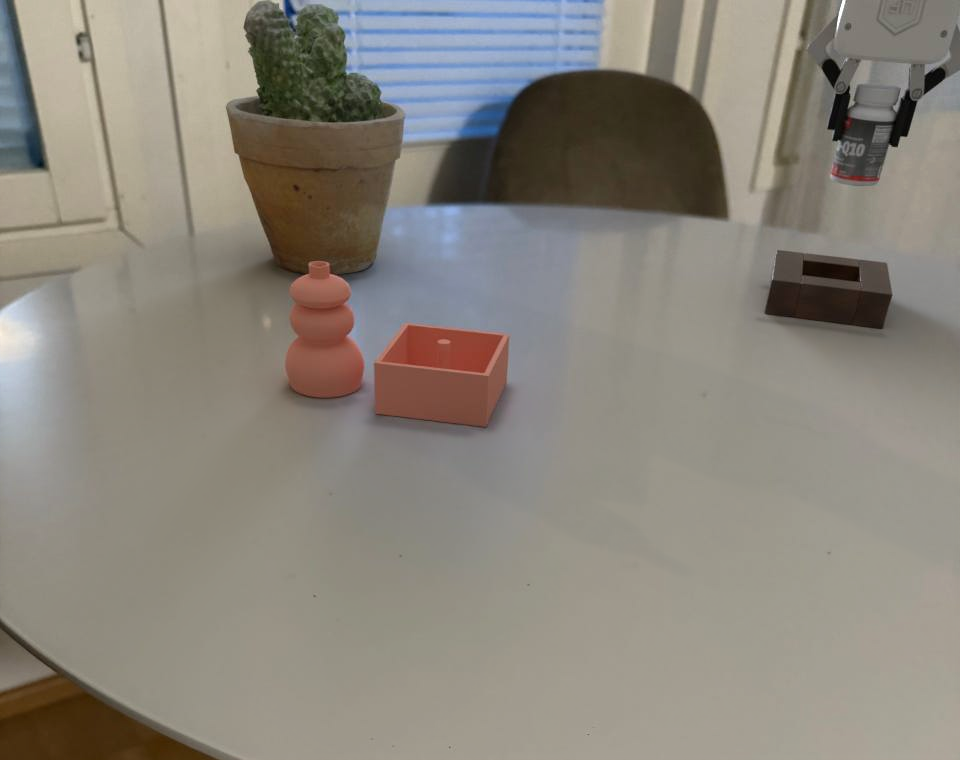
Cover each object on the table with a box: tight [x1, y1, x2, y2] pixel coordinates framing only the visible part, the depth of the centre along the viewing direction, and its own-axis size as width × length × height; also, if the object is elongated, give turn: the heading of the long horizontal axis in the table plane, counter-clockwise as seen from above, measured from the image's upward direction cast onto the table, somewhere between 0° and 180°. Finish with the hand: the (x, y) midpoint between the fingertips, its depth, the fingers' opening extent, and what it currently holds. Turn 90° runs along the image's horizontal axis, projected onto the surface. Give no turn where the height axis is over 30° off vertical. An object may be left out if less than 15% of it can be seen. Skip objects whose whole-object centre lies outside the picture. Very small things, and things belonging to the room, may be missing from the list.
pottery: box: [284, 261, 510, 428], centre depth 77 cm, size 18×10×10 cm, turn 79°
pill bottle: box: [829, 82, 902, 187], centre depth 93 cm, size 5×5×8 cm
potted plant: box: [225, 0, 407, 276], centre depth 101 cm, size 18×19×25 cm
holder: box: [764, 249, 893, 329], centre depth 103 cm, size 12×12×4 cm
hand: (864, 139), depth 94 cm, fingers closed on pill bottle, 4 cm apart
